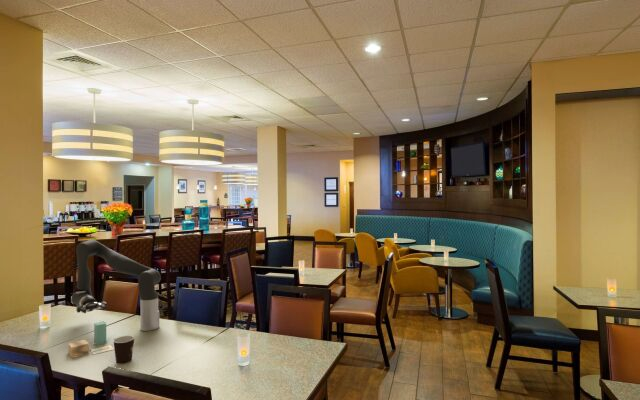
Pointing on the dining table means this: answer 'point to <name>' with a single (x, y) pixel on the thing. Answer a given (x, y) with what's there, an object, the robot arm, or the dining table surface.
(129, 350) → the coffee mug
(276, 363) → the dining table surface
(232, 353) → the dining table surface
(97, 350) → the page
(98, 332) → the tall block
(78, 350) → the base brick
